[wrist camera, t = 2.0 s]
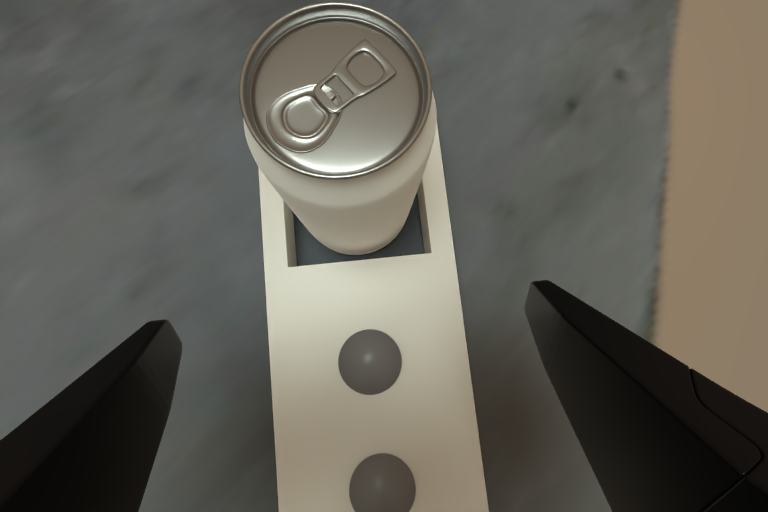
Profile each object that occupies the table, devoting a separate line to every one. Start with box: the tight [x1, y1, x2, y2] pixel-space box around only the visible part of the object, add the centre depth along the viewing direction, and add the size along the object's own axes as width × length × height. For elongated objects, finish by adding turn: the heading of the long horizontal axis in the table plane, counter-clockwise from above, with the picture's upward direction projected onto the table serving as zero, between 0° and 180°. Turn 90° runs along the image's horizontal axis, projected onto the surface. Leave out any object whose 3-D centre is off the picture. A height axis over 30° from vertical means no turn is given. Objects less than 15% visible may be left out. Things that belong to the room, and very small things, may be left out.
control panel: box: [259, 120, 489, 512], centre depth 20 cm, size 26×10×3 cm, turn 6°
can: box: [239, 1, 436, 255], centre depth 17 cm, size 6×6×12 cm
